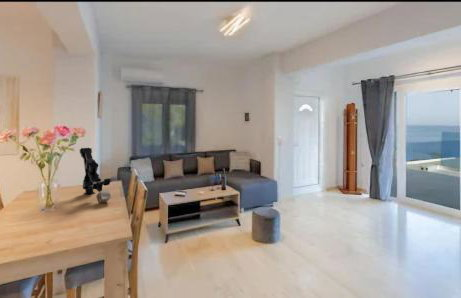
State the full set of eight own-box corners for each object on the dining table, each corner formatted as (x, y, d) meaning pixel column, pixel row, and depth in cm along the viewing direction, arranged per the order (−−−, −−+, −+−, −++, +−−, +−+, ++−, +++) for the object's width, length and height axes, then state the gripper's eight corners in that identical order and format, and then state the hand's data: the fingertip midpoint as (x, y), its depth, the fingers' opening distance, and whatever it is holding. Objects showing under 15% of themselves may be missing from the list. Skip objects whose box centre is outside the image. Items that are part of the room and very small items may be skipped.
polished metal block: (96, 195, 190) (99, 191, 185) (104, 194, 195) (108, 189, 190) (98, 203, 188) (102, 199, 184) (106, 201, 193) (111, 197, 188)
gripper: (103, 180, 208) (110, 196, 202) (77, 184, 193) (84, 201, 188) (107, 171, 202) (115, 188, 196) (81, 175, 188) (88, 193, 182)
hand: (101, 192), depth 191 cm, fingers closed
